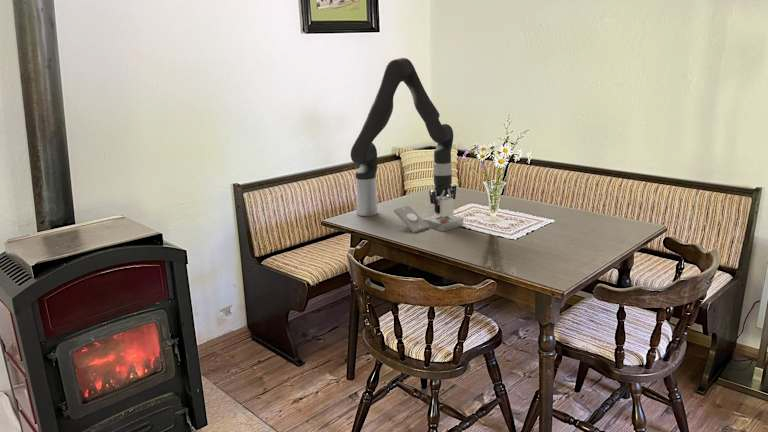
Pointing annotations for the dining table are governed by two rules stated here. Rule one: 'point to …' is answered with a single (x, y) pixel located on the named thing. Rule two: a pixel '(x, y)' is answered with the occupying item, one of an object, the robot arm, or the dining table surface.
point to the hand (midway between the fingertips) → (443, 211)
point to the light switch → (411, 219)
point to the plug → (445, 207)
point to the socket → (443, 222)
